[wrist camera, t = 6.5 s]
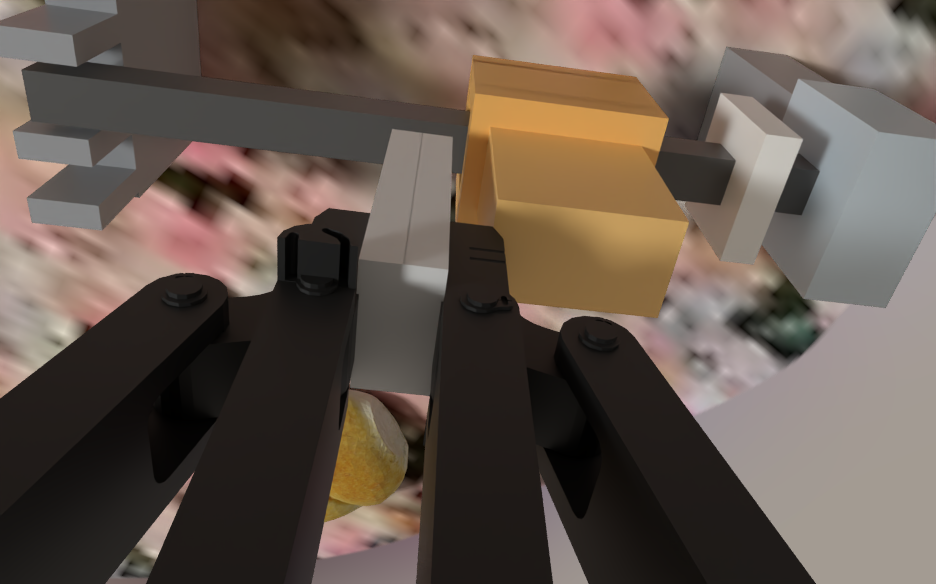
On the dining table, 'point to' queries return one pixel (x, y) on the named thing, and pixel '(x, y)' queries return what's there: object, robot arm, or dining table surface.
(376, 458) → the bread roll
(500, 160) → the orange rod clamp
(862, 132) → the rod fixture
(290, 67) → the dining table surface
